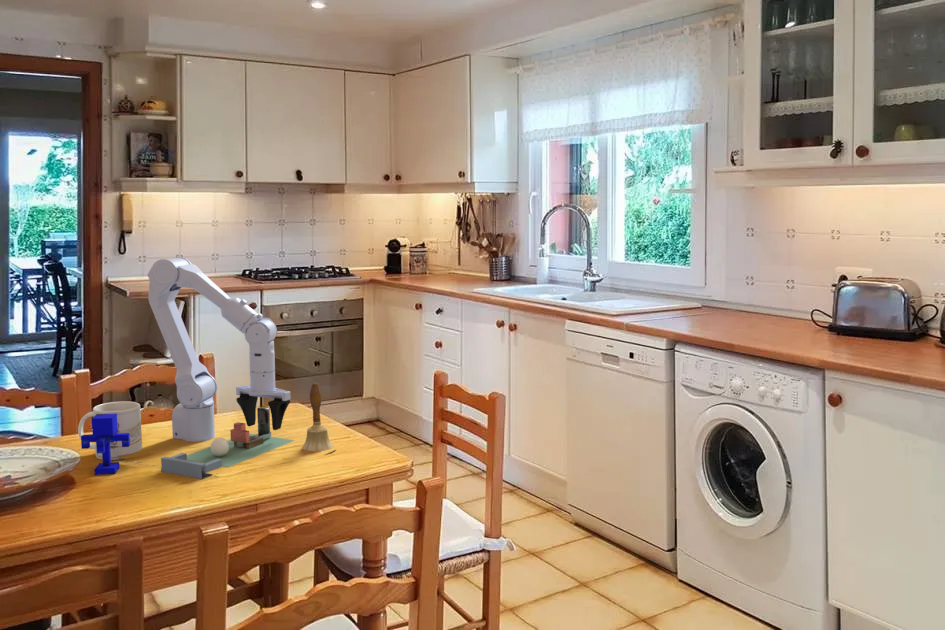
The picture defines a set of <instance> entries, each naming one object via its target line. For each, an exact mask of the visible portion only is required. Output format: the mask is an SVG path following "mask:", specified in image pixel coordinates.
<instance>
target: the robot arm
mask: <svg viewBox="0 0 945 630" xmlns="http://www.w3.org/2000/svg"><path fill="white" fill-rule="evenodd" d="M150 267H151V268H150V269H149V271H148V273H147V276H148V279H149V281H148V282H149V283H148V284H149V285H148V298H147V299H148V304H149V306H150V308H151V310H152V313H153V315H154V318H155V320H156V323H157V326H158V328H159V330H160V332H161V333H160V334H161V335H162V339H163V340H164V342H165V344H166V347H167V351H168V352H169V355H170V357H171V360H172V362H173V365H174V366H175V369H176V372H175V373H176V374H175V378H174V382H175V384H176V397H177V400H178V402H179V403H178V404H177V405H175V407H174V408H173V409H172V415H171V425H172V426H171V428H172V429H171V430H172V431H171V432H172V439H177V440H183V441H186V442H192V443H193V442H194V443H195V442H205V441H210V440H212V439H215V437H216V436H215V435H216V430H215V428H216V427H215V404H214V403H215V401H214V396H215V395H216V393H217V391H218V383H217V380H216V379H215V377H213V375H211V373H210V372H209V371H208V368H207V367H206V366H205V365H204V364H203V363H202V362H201V361H200V360H199V358H198V356H197V352H196V349H195V348H194V346H193V343H192V341H191V338H190V336H189V333H188V331H187V328H186V326H185V323H184V321H183V319H182V316H181V313H180V311H179V307H178V306H177V303H176V301H175V300H176V298H177V296H178V294H179V292H180V290H181V288H185V289H193V290H194V291H196V292H198V293H199V294H200V295H202V296H203V297H204V298H205V299H207V300H208V301H210V302H211V303H212V304H214V305H215V306H217V307H218V308H219V309H220V311H221V317H222V318H223V319H225V320H226V321H227V322H228V323H229V324H230V325H232V326H233V327H235V328H236V329H237V330H238V331H239V332H241V333H242V334H243V335H244V339H245V341H246V342H247V343H248V345H249V356H248V357H249V384H250V385H238V386H236V387H235V394H236V395H237V396H238V397H236V399H235V400H236V402H237V404H238V406H239V408H240V409H241V411H242V413H243V416H244V419H245V422H246V423H245V424H246V426H247V427H252V426H255V425H256V421H257V419H256V418H257V413H256V412H257V411H256V410H257V403H258V399H259V398H266V399H272V400H270V401H268V402H267V404H268V407H269V408H270V415H271V425H272V427H271V428H272V430H273V431H277V430H280V429H282V424H283V420H284V416H285V413H286V411H287V408H288V406H289V405H290V403H291V398H292V397H291V391H289V390H285V389H281V388H278V387H276V366H275V365H276V363H275V362H276V359H275V356H276V355H275V354H276V352H275V341H274V340H275V338H276V336H277V334H278V329H277V325H276V323H274V322H273V320H272V319H271V318H269V317H264V315H263V314H262V313H260V312H259V313H258V312H257V311H255V310H254V309H253V308H252V307H250V305H248V301H247V300H246V299H245V298H243V299H240V298H239V297H230V296H229V295H228V294H227V293H226V292H225V291H224V290H223V289H222V288H220V287H219V286H218V285H217V284H216V283H215V282H213V280H211V279H210V278H209V277H208V276H207V275H206V274H205V273H204V272H203V271H202V270H201V269H200V268H199V267H198V266H197V265H195V264H194V263H191V261H190V260H189V259H187V258H186V257H182V256H178V257H177V256H176V257H174V258H162V259H158V260H156V261H155V262H154V263H153V264H152V266H150Z"/></svg>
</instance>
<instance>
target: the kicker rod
mask: <svg viewBox="0 0 945 630" xmlns="http://www.w3.org/2000/svg"><path fill="white" fill-rule="evenodd" d="M256 410H257V411H256V412H257V413H256V416H257V434H256V435H253V436H251V437H249V433H250V430H247V429H246V426H247V423H245V422H239V421H238V422H234V423H233V429H232V428H231V429H230V430H229V431H230V439H231V441H234V442H237V447H242V448H244V447H246V443H248V442H250V441H251V440H254V439H256V438H259V437H262V438H263V440H265V439H267V438H270V437H272V431H271V419H270V418H271V417H270V415H271V410H270V407H269V406H260V407H256Z"/></svg>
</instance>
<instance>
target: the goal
mask: <svg viewBox="0 0 945 630" xmlns="http://www.w3.org/2000/svg"><path fill="white" fill-rule="evenodd" d="M187 455H188V454H187V452H180V453H178V454H175V455H172V456H162V457H161V458H160V464H161V466H160V467H161V473H166V474H170V475H171V474H172V475H177V476H183V477H189V478H194V479H198V480H203V479H205V478H208V477H210V476H212V475H213V473H210V472H212V471H214V470H217V469H219V468H222V467H223V466H222V459H215V460H213V461H210V462H208V463H200V462H194V461H188V460H187Z"/></svg>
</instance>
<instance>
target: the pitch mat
mask: <svg viewBox="0 0 945 630" xmlns="http://www.w3.org/2000/svg"><path fill="white" fill-rule="evenodd" d="M253 435H256V434H255V433H250V432H249V436H253ZM227 441H228V443H229V451H228V452H227V453H226V454H225V455H223V456H216V455H214V454H213V453H212V452H211V449H210V447H211V446H208V447H206V448H205V447H204V448H202V449H200V450H197V451H195V452H193V453H189V454H187V460H188V461H194V462H199V463H208V462H210V461H213V460H215V459H222V467H223V468H230V467H233V466H235V465H237V464H240V463H243V462H245V461H247V460H250V459H253V458H254V457H258V456H260V455H262V454H264V453H267V452H270V451H272V450H275V449H277V448H280V447H282V446H285V445H287V444H289V443H292V442H295V440H294V439H288V438H281V437H276V436H271V437H270V438H267V439H265V440H263V444H261V445H259V446H256V447H253V448H251V449H246V447H244V448H242V447H234V441H231V438H230V439H228V440H227Z"/></svg>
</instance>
